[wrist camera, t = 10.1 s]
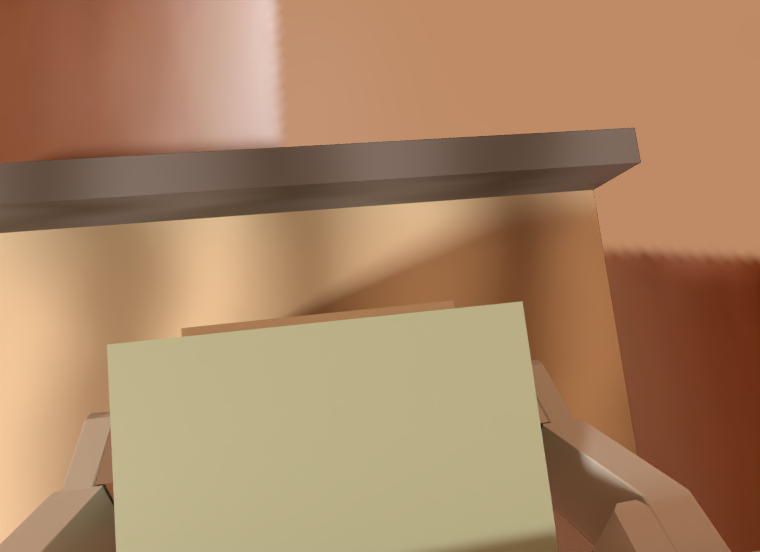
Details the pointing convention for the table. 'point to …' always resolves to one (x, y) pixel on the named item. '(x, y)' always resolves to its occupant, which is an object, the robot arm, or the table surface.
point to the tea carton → (332, 435)
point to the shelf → (293, 263)
